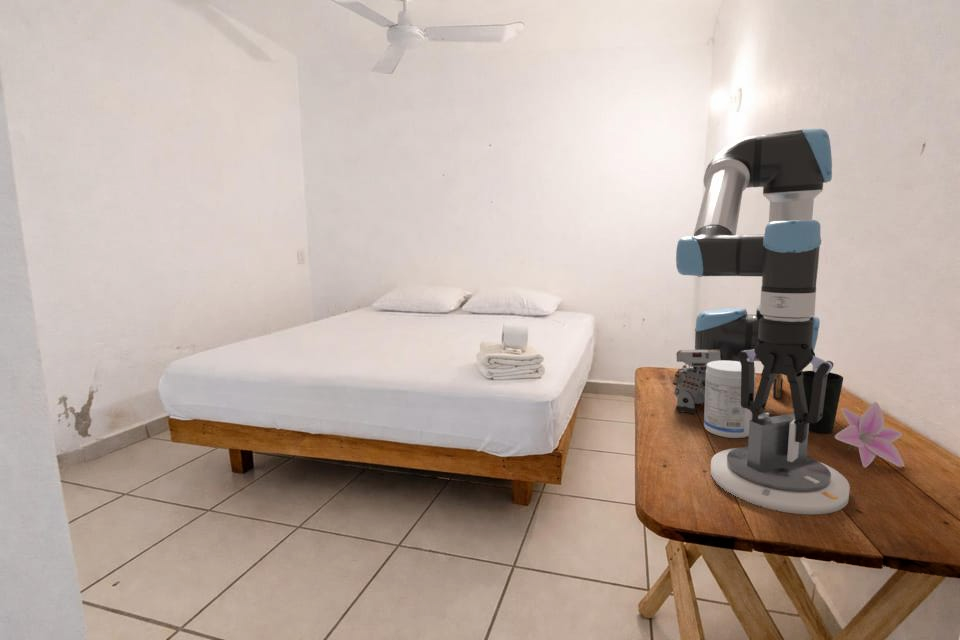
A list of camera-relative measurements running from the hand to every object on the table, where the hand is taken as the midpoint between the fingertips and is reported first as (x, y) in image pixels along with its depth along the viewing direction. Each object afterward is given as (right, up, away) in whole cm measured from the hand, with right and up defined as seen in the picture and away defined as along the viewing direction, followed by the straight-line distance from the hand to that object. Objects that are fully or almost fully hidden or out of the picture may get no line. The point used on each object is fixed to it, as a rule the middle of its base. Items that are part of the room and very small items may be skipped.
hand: (776, 454), depth 83 cm
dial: (0, -3, 0) cm, 3 cm away
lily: (+22, -4, +9) cm, 24 cm away
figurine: (+4, 0, +38) cm, 38 cm away
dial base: (0, -5, +1) cm, 5 cm away
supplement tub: (+4, -2, +24) cm, 24 cm away
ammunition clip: (+29, +3, +49) cm, 57 cm away
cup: (+23, -1, +23) cm, 33 cm away
